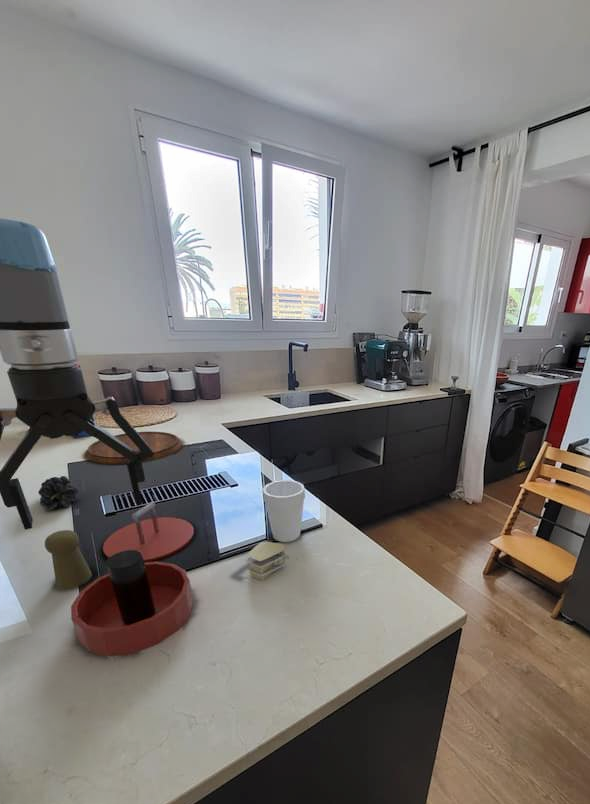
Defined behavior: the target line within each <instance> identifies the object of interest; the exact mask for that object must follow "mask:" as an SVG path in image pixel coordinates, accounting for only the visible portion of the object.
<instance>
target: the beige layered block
mask: <svg viewBox="0 0 590 804" xmlns="http://www.w3.org/2000/svg"><path fill="white" fill-rule="evenodd" d="M285 549H286V548H285V546H284V544H282V543H278V542H271V541H261V542H260V543H257V544H256V545H255V546H254V547H253V548H252V549H251V550H250V551H248V552H247V553H246V555H245V556H246V557H248V558H247V559H246V561H245V562H246V563H248V568H246V569H247V571H248V572H249V576H251V577H253V578H256V579H258V580H260V581H264V580H265V579H267V577H269V576H270V575H272V573H274V572H275V570H278V569H280V568H282V567H283V566H284V565H286V560H285V556H286V554H285Z"/></svg>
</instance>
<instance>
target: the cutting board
mask: <svg viewBox="0 0 590 804" xmlns="http://www.w3.org/2000/svg"><path fill="white" fill-rule="evenodd" d="M137 432H138V434H139V435H140V436H141V437H142V438H143V439H144V441H145V442H146V443H147V444H148V445H149V446H150V448H151V449H152V451H153V453H154V455H153V456H152V457H150V458H146V459H144V460H143V462H147V461H148V462H149V461H153V460H156V459H160V458H163V457H166V456H169V455H175V454H176V453H178V452H179V451H180V450H182V448H183V442H182V440H181V439H180V438H179V437H178V436H177V435H176V434H174V433H169V432H164V431H137ZM113 436H114V437H116V438H117V439H119V440H120V441H121V442H123V443H124V444H126V445H127V446H129V447H130V448H132V449H133V450H135V451H138V450H140V449H139V448H138V447H137V446H136V445H135V444H134V443H133V441H132V440H131V439H130V438H129V437H128V436H127V435H126V434H125V433H120V434H115V435H113ZM84 455H85V458H86V459H87V460H89V461H90V462H93V463H98V464H107V465H124V464H126V461H127V460H128V459H127V458H125V457H124V456H122V455H121V454H119V453H118V452H116V451H115V450H113V449H112V448H110V447H109V446H107V445H106V444H104V443H103V442H101V441H100V440H96V441H94V442H93V443H90V445H89V446H88V448H87V450H86V451H85V453H84ZM126 465H127V464H126Z"/></svg>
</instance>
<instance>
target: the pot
mask: <svg viewBox="0 0 590 804" xmlns="http://www.w3.org/2000/svg"><path fill="white" fill-rule="evenodd" d="M144 564H145V569H146V573H147V577H148V581H149V585H150V590H151V594H152V598H153V602H154V606H155V613H154V615H153V617H151V618H148V619H145V620H142V621H139V622H137V623H134V624H131V625H126V624H124V623H123V621H122V618H121V614H120V611H119V608H118V604H117V601H116V597H115V594H114V590H113V587H112V583H111V580H110V576H109V573H108V572H107V573H106V574H104V575H102V576H100V577H98V578H96V579H95V580H93V581H91V583H89V584H88V585H87V586H86V587H84V588H83V589H82V590H81V591H80V592H79V593H78V594H77V596H76V598H75V599H74V601H73V602H72V604H71V605H70V610H71V611H70V613H71V614H70V615H71V617H70V620H71V622H72V625H73V628H74V630H75V633H76V636H77V639H78V642H79V643H80V644H81V645H82V646H83V647H84V648H85V649H86V650H87V651H89V652H90V653H92V654H97V655H100V656H106V657H107V656H109V657H114V656H123V655H130V654H135V653H138V652H140V651H143V650H146V649H149V648H151V647H154V646H156V645H158V644H160V643H161V642H163V641H165V640H166V639H168V638H169V637H171V636H172V635H173V634H175V633H176V632H177V631H179V630H180V628H181V627H183V625H184V624H185V623H186V621H187V620H188V618H189V617H191V613H192V610H193V605H194V596H193V592H192V585H191V581H190V578H189V576H188V574H187V572H186V570H185V569H183V568H181V567H180V566H178V565H176V564H175V563H170V562H162V561H149V562H144Z"/></svg>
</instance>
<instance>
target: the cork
mask: <svg viewBox="0 0 590 804" xmlns="http://www.w3.org/2000/svg"><path fill="white" fill-rule="evenodd" d="M79 544H80V539H79V535H78V533H77V532H75V531H73V530H70V529H63V530H58V531H55V532H52V533H50V534H49V535H47V537H46V538H45V540H44V547H45V550H46V551H47V552H48V553H49V554H51V559H52V565H53V573H54V578H55V585H56V587H57V588H58V589H61V590H69V589H74V588H78V587H80V586H82V585H84V584H85V583H88V582H89V581H90V579H92V576H93V573H92V570H91V568H90V566H89V565H88V563H87V561H86V559H85V558H84V555H83V553H82V551H81V549H80V548H79Z"/></svg>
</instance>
